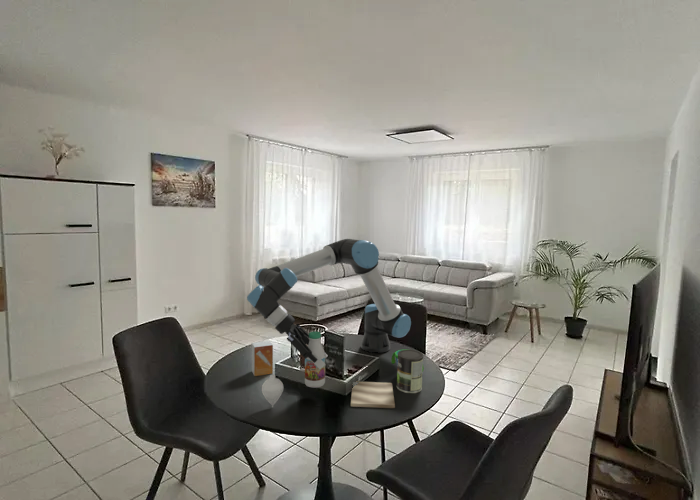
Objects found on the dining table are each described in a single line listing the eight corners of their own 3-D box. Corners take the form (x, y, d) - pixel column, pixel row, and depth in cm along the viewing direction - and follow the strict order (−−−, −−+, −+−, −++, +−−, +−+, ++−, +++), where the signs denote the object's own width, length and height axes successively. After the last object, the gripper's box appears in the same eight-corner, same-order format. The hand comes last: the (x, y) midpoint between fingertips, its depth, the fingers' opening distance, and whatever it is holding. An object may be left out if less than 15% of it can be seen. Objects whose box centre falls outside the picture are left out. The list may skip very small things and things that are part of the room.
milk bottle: (303, 380, 150) (303, 330, 148) (323, 378, 151) (323, 329, 149) (305, 389, 142) (305, 336, 140) (326, 387, 144) (326, 335, 142)
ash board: (352, 384, 158) (352, 381, 158) (391, 385, 157) (391, 382, 157) (350, 406, 140) (350, 403, 140) (394, 408, 139) (394, 405, 139)
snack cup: (385, 373, 169) (385, 350, 168) (401, 367, 176) (402, 345, 175) (412, 385, 157) (412, 361, 156) (428, 379, 164) (429, 356, 163)
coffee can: (397, 393, 151) (398, 358, 149) (395, 381, 161) (396, 348, 160) (423, 394, 150) (425, 359, 149) (420, 382, 160) (421, 349, 159)
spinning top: (278, 400, 143) (278, 369, 142) (286, 409, 137) (286, 377, 136) (258, 405, 139) (258, 373, 138) (266, 415, 133) (266, 382, 132)
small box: (254, 376, 163) (254, 347, 162) (251, 371, 169) (251, 342, 167) (273, 373, 166) (273, 344, 165) (269, 368, 172) (269, 340, 171)
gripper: (280, 318, 155) (320, 358, 156) (267, 335, 135) (313, 380, 136) (293, 306, 154) (333, 346, 155) (282, 321, 134) (328, 366, 135)
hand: (323, 362), depth 146 cm, fingers closed on milk bottle, 7 cm apart
